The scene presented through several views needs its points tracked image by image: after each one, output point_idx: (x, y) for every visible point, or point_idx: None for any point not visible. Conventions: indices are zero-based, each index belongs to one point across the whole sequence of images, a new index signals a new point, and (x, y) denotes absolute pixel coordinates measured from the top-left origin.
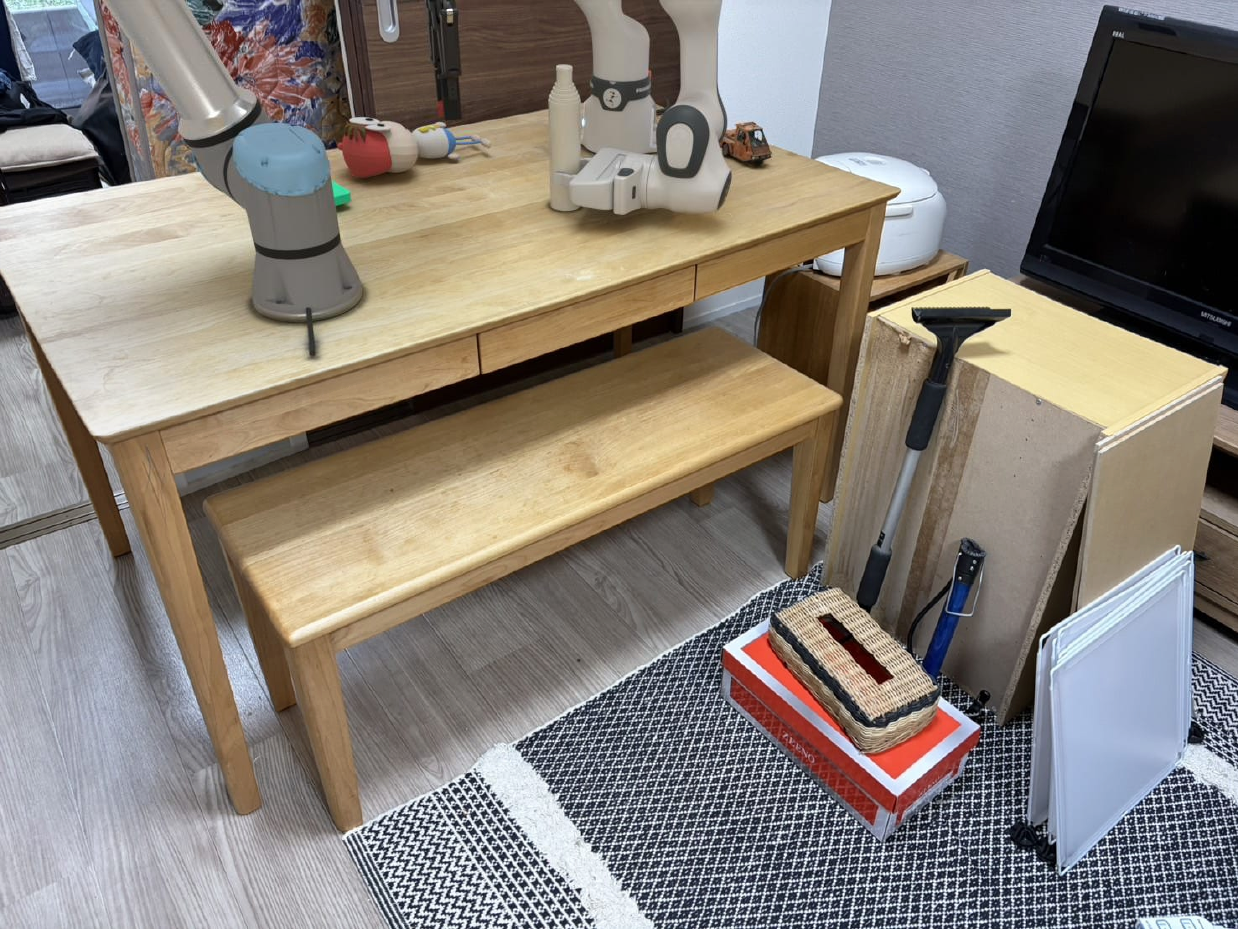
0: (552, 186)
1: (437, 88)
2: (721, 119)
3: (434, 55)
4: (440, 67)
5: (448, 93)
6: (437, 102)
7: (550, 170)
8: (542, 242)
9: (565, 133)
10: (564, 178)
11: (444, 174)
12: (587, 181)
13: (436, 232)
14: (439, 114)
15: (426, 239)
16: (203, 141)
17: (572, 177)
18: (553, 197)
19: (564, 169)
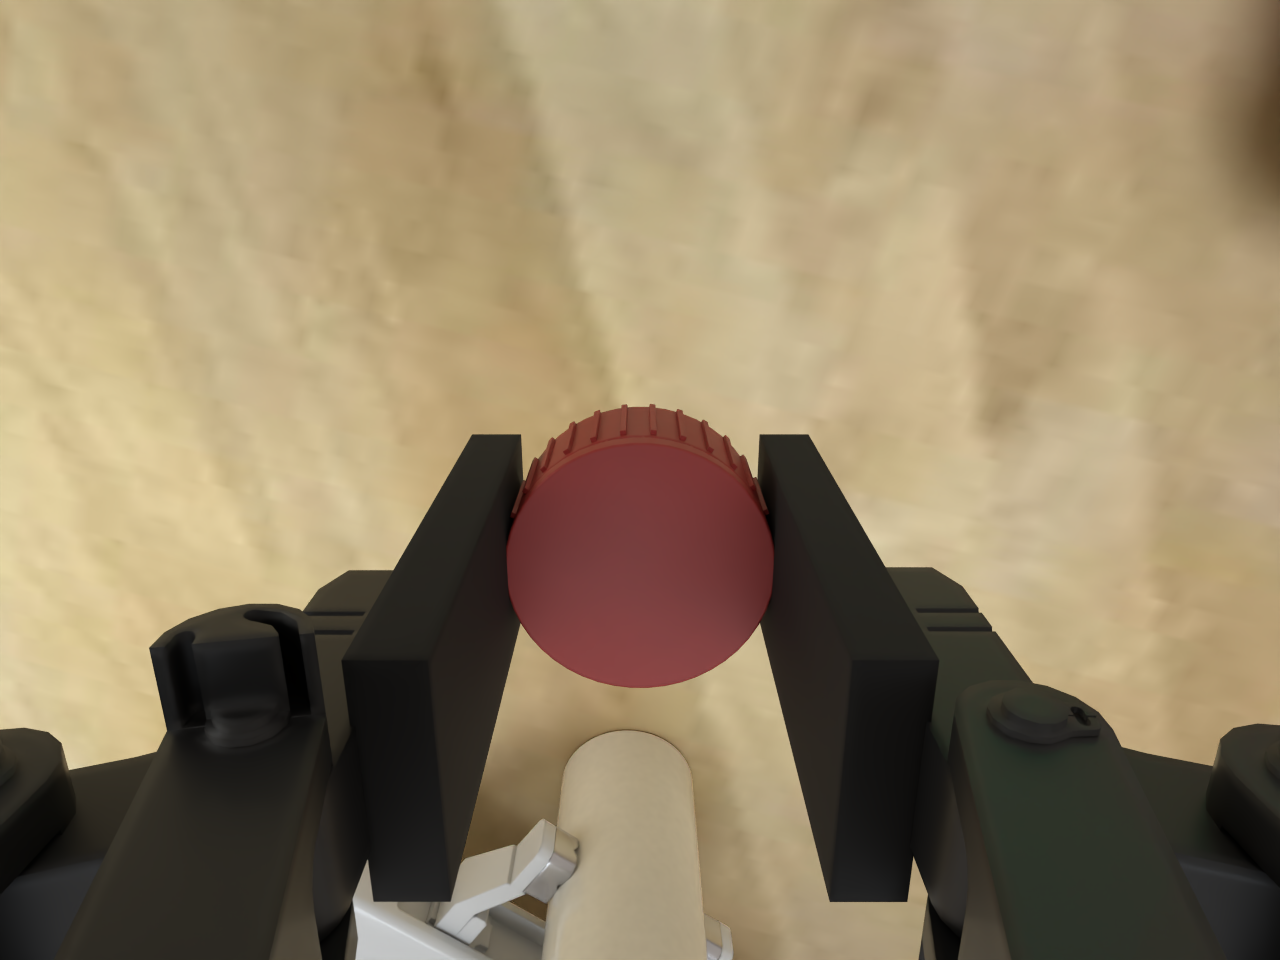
0: (607, 799)
1: (800, 539)
2: None
3: (994, 866)
4: (930, 776)
5: (315, 613)
6: (681, 451)
7: (625, 850)
8: (254, 596)
9: None
10: (496, 876)
11: (1254, 382)
12: None
13: (472, 160)
14: (594, 412)
15: (392, 86)
16: None
17: (447, 911)
18: (603, 766)
19: (548, 910)
